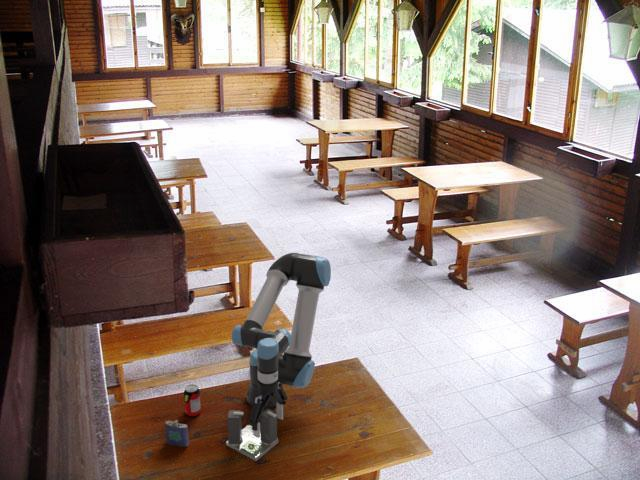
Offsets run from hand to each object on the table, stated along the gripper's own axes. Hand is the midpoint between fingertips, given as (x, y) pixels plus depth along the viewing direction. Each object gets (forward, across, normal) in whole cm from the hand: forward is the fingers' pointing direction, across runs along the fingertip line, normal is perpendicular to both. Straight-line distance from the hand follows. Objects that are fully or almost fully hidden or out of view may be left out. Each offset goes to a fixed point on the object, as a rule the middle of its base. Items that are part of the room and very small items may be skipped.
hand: (268, 427), depth 242 cm
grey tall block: (+6, 0, 0) cm, 6 cm away
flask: (+8, -20, +28) cm, 36 cm away
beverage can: (+8, -4, +37) cm, 38 cm away
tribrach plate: (+8, -4, +5) cm, 10 cm away
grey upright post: (+6, -8, +10) cm, 14 cm away
